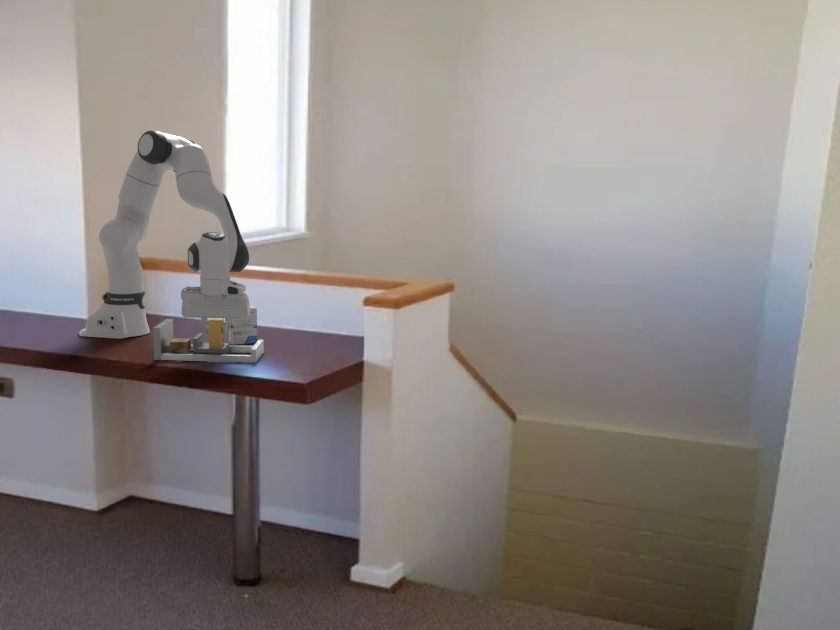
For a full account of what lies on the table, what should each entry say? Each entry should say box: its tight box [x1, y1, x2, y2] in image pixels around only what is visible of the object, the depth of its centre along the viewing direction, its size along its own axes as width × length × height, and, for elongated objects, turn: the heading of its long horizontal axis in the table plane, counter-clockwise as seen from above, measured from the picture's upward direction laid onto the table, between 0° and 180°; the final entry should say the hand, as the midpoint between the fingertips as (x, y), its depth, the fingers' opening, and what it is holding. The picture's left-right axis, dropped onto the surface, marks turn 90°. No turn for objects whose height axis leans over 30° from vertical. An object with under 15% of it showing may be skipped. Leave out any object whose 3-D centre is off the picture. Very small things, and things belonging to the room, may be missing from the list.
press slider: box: [192, 318, 231, 355], centre depth 270 cm, size 9×9×11 cm
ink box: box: [228, 305, 258, 345], centre depth 290 cm, size 9×5×12 cm, turn 112°
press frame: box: [152, 318, 265, 364], centre depth 270 cm, size 30×14×10 cm, turn 90°
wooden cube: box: [170, 337, 192, 354], centre depth 271 cm, size 5×5×5 cm
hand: (216, 332), depth 270 cm, fingers closed on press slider, 3 cm apart
